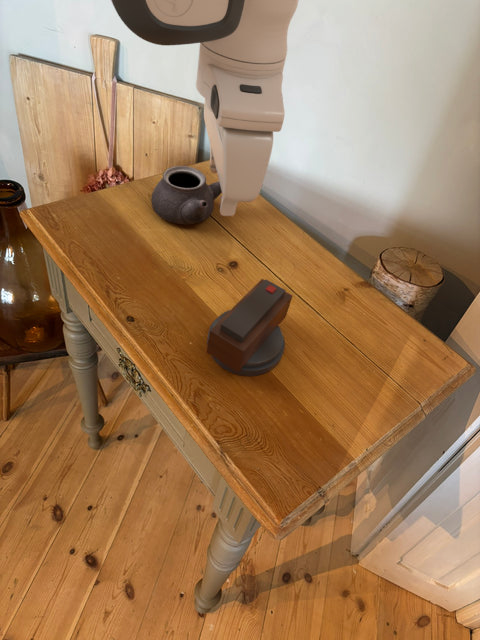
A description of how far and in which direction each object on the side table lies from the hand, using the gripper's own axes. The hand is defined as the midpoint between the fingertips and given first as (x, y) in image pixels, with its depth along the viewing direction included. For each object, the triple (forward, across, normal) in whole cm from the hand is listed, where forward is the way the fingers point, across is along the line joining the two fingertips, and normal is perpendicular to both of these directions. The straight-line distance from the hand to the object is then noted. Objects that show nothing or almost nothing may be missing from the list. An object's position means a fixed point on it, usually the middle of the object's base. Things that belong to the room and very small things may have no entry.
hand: (221, 190), depth 59 cm
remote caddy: (+21, +7, +6) cm, 23 cm away
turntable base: (+23, +7, +6) cm, 25 cm away
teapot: (+23, -27, +3) cm, 36 cm away
